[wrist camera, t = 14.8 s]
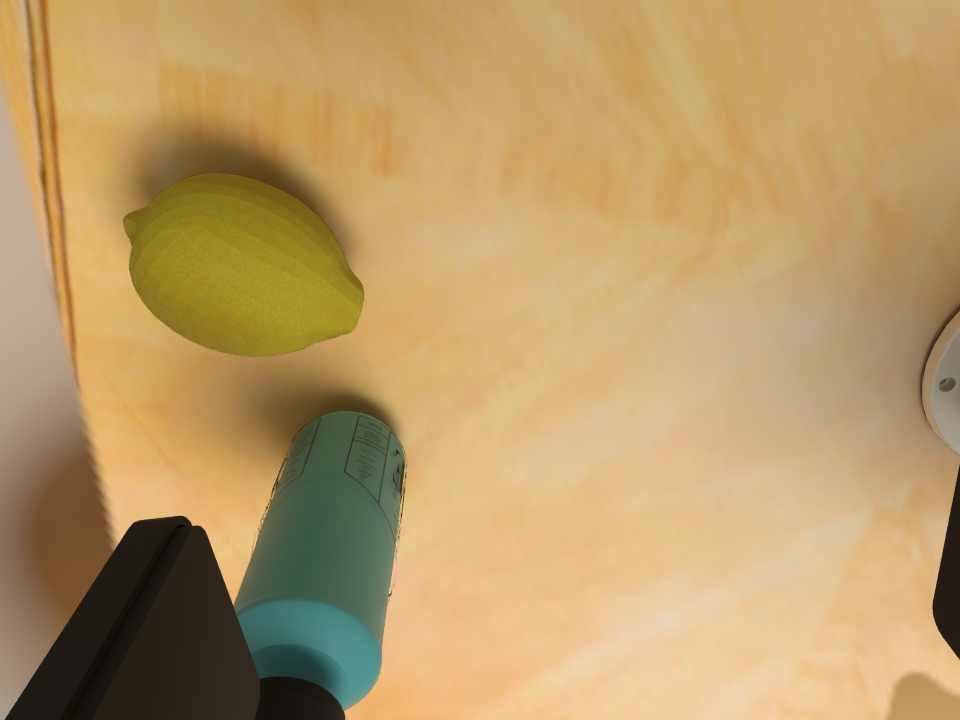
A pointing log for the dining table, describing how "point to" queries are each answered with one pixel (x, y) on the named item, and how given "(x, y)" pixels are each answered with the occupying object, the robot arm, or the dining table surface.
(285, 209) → the lemon
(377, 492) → the beverage bottle
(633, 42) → the dining table surface
